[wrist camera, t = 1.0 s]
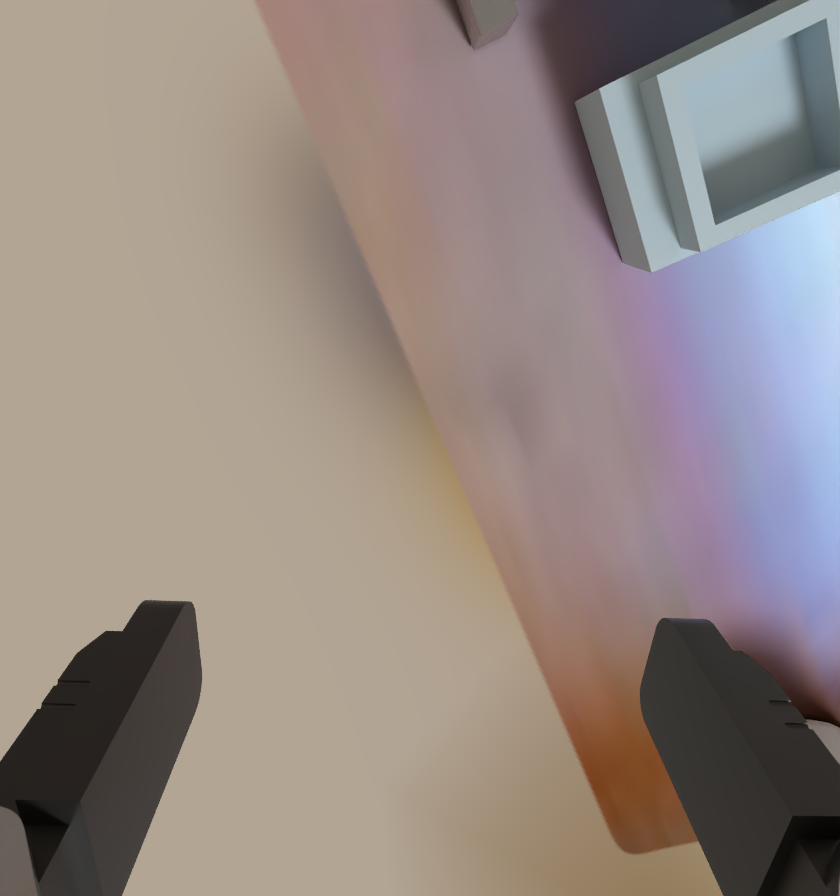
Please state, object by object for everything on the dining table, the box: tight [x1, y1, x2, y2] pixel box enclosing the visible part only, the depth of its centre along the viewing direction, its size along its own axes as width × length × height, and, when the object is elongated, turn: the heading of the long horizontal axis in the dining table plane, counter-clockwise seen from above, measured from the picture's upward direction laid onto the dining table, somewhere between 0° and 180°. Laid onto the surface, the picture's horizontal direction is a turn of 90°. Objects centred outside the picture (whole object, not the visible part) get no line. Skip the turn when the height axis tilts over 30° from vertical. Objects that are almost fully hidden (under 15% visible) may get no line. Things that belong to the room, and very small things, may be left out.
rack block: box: [575, 0, 840, 273], centre depth 26 cm, size 10×8×6 cm
